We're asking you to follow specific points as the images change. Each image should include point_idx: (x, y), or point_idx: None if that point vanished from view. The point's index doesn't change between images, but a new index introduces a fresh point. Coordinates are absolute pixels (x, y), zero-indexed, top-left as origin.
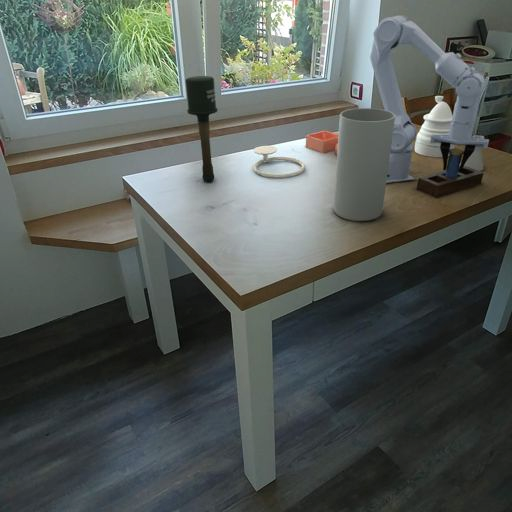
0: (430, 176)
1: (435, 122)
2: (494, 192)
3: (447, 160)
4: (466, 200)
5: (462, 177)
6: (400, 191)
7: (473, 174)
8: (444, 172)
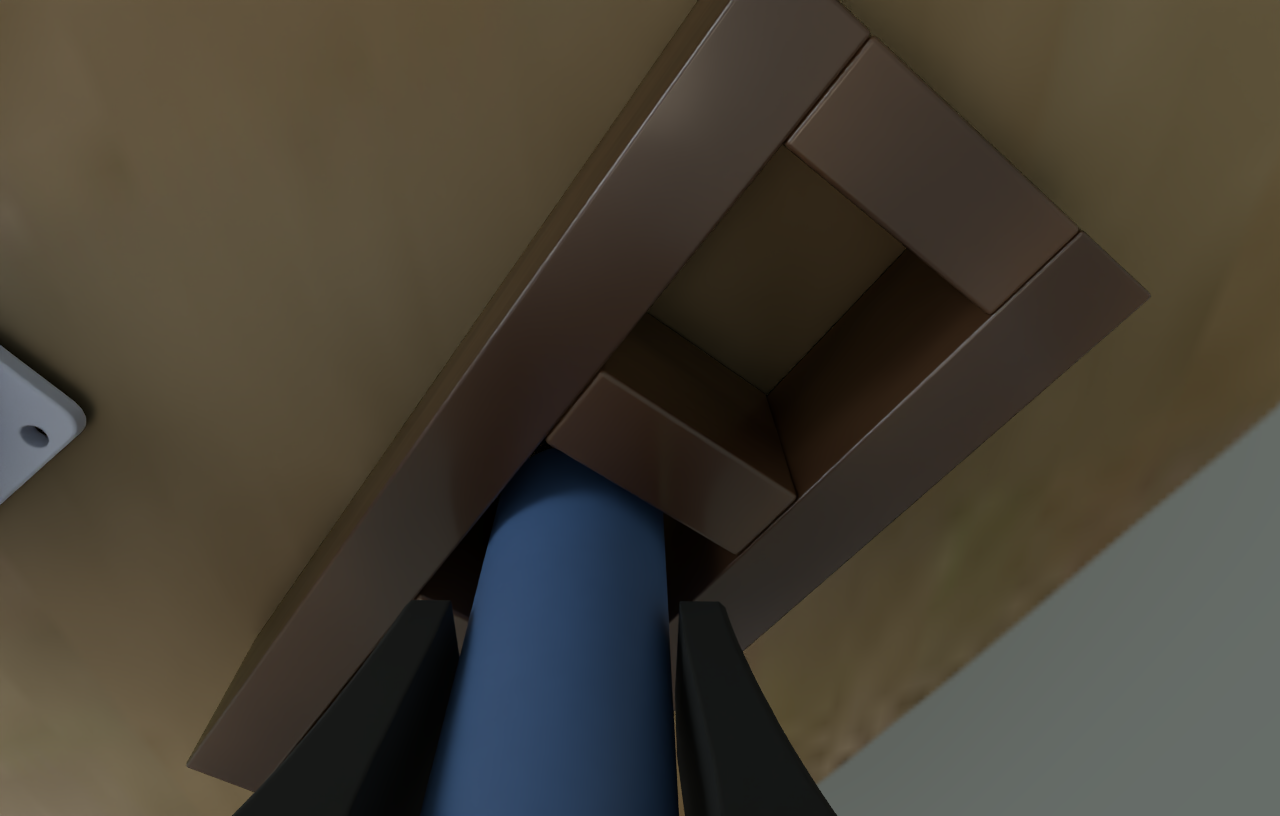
0: (307, 700)
1: None
2: (1139, 458)
3: (406, 736)
4: (784, 715)
5: (742, 612)
6: (138, 722)
7: (930, 448)
8: (452, 511)
